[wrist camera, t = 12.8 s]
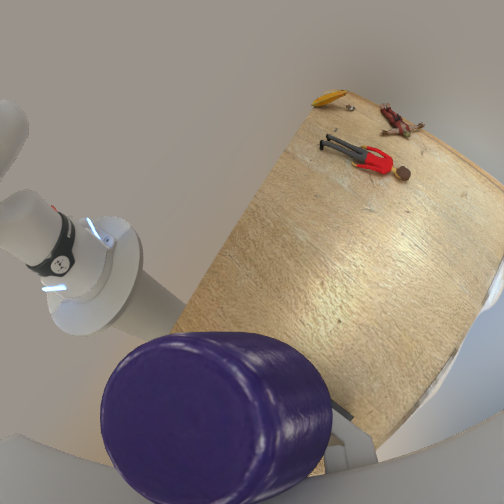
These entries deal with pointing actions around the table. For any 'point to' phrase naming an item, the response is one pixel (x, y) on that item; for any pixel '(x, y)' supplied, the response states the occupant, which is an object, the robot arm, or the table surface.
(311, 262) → the table surface
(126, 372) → the toy lamp
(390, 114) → the figurine
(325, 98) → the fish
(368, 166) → the person figure
